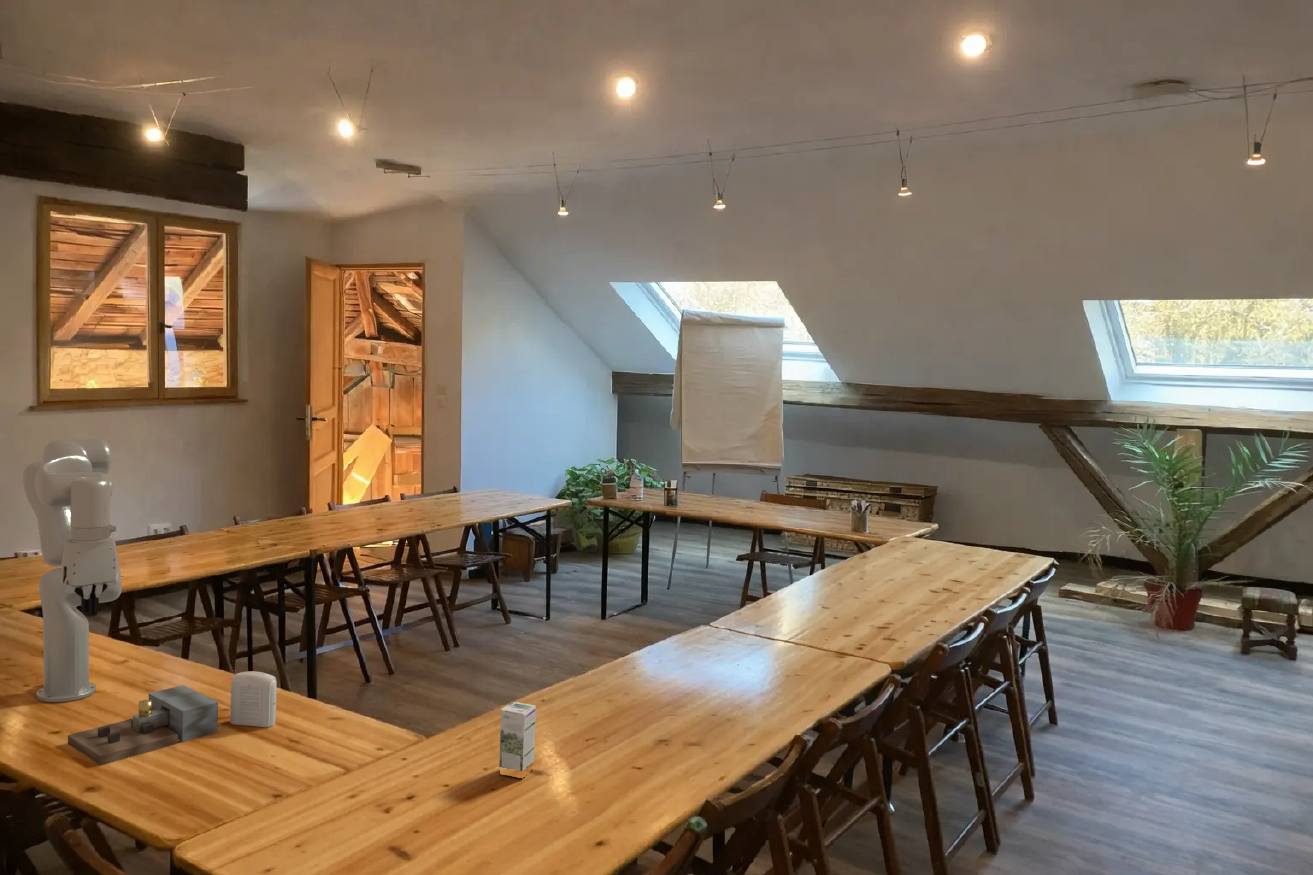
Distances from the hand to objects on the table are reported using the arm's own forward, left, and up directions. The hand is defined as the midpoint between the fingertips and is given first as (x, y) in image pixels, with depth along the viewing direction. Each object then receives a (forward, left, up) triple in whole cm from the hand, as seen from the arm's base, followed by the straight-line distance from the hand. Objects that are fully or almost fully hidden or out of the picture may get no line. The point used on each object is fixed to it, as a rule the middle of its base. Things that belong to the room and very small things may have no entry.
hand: (90, 614), depth 214 cm
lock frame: (+12, +7, -27) cm, 30 cm away
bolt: (+12, +11, -25) cm, 29 cm away
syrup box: (+84, +50, -27) cm, 102 cm away
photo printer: (+21, +27, -27) cm, 43 cm away
